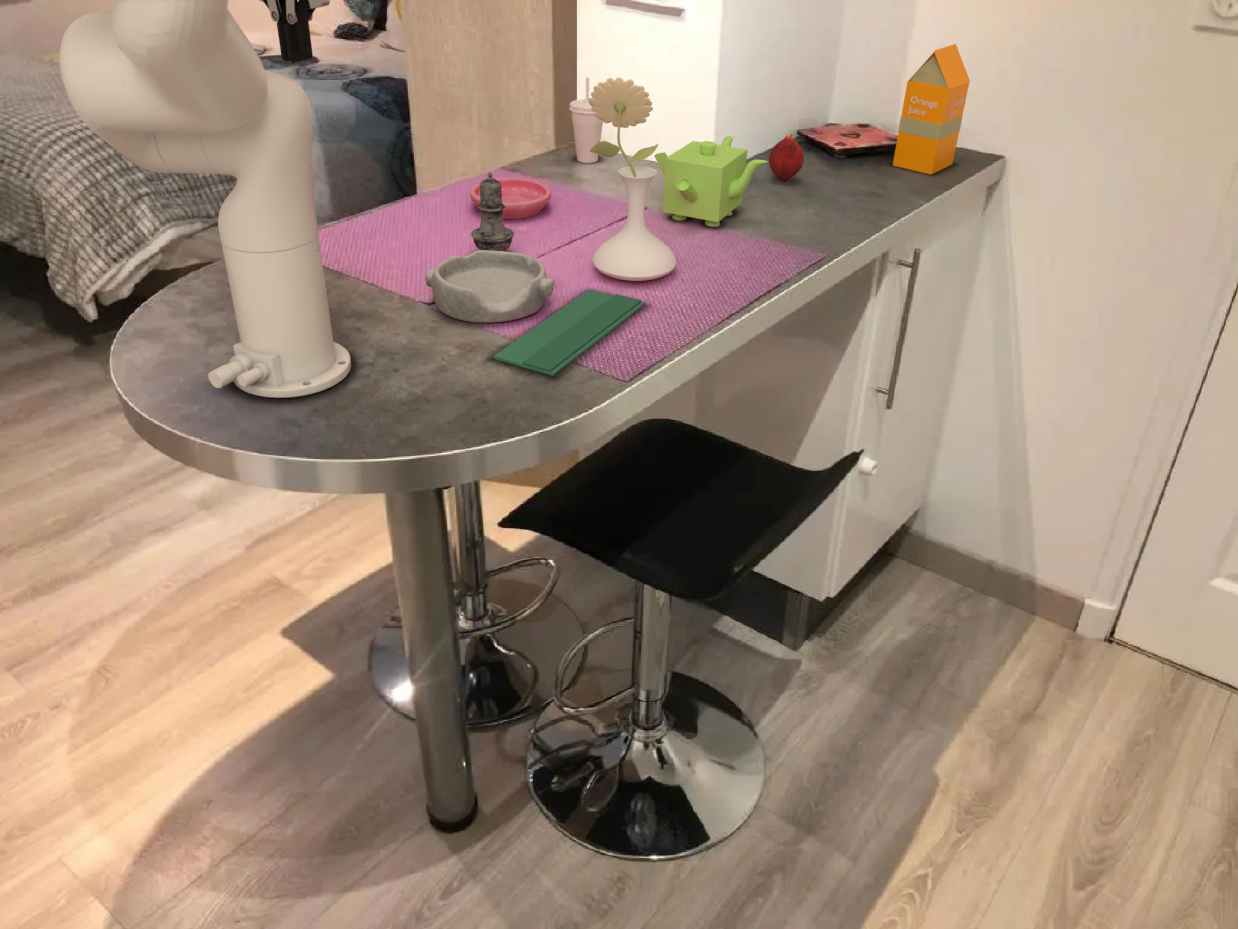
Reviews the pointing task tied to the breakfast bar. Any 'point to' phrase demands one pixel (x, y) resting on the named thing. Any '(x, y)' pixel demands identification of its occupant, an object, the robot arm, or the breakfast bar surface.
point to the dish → (489, 286)
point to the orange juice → (932, 113)
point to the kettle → (705, 180)
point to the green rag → (569, 332)
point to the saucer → (518, 197)
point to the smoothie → (585, 128)
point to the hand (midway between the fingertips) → (297, 59)
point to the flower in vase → (629, 188)
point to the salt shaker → (491, 218)
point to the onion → (786, 158)
